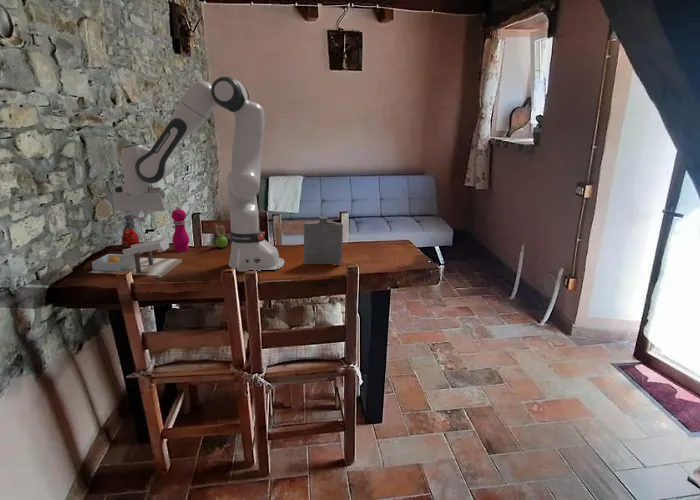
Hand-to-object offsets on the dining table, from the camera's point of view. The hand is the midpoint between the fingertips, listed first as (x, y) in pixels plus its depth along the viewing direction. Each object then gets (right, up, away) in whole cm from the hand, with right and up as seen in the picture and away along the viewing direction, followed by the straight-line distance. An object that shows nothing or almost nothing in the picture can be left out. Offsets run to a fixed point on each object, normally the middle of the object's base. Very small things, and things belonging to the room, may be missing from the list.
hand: (142, 221), depth 177 cm
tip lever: (+5, -11, -3) cm, 12 cm away
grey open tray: (-9, -18, -5) cm, 20 cm away
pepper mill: (+7, -11, +23) cm, 26 cm away
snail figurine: (+23, -10, +28) cm, 38 cm away
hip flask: (+71, -17, +9) cm, 74 cm away
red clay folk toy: (-15, -11, +22) cm, 29 cm away
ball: (-9, -15, -5) cm, 19 cm away
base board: (-1, -18, -2) cm, 18 cm away
